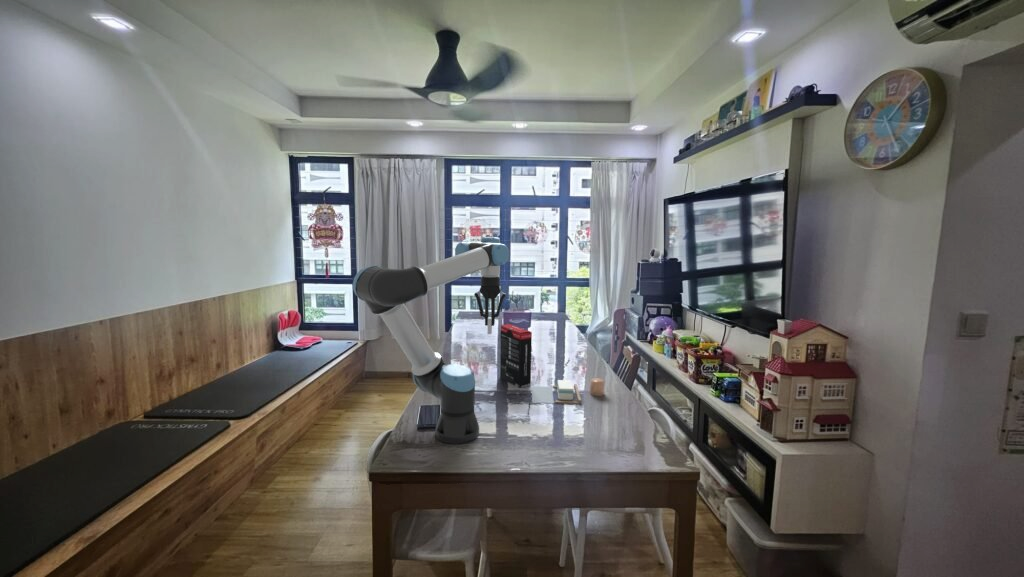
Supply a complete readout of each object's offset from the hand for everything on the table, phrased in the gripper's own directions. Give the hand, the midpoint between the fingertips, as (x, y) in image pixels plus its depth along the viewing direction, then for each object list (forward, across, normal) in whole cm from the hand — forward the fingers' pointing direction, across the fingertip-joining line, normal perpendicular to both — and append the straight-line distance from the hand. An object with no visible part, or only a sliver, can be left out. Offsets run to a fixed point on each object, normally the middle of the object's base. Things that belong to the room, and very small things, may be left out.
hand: (489, 333), depth 168 cm
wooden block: (+29, -47, -14) cm, 57 cm away
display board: (+29, -28, -7) cm, 41 cm away
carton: (+28, -32, -7) cm, 43 cm away
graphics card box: (+30, -10, -21) cm, 38 cm away
